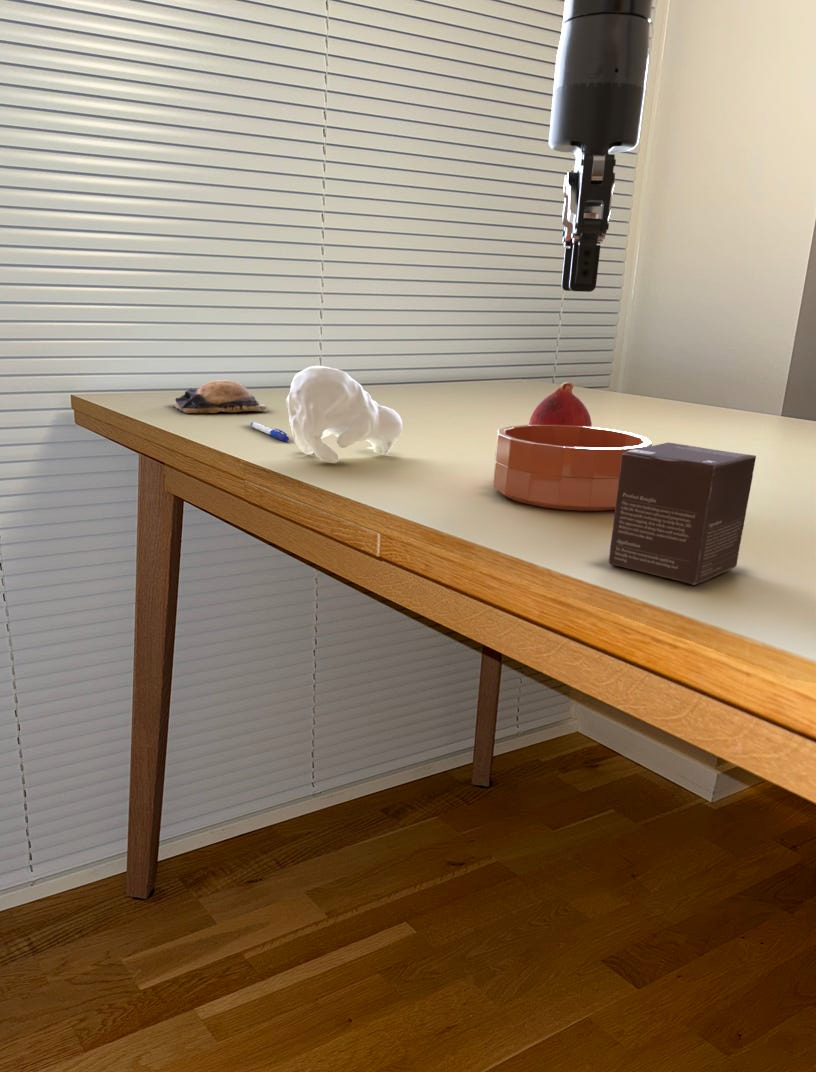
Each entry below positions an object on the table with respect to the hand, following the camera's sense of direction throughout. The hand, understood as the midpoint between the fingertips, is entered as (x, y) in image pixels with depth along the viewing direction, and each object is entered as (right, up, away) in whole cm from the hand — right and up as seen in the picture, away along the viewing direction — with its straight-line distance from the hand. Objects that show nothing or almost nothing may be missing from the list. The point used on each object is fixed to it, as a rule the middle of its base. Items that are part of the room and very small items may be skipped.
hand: (577, 291), depth 87 cm
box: (0, -27, -25) cm, 37 cm away
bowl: (-2, -19, -6) cm, 20 cm away
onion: (-1, -15, +6) cm, 16 cm away
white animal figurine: (-21, -14, +7) cm, 26 cm away
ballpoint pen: (-29, -9, +19) cm, 36 cm away
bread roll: (-37, -2, +36) cm, 51 cm away
